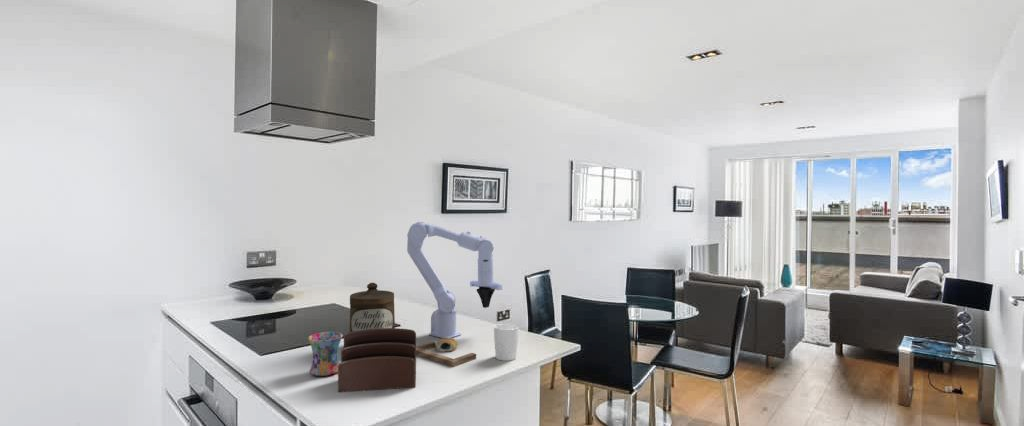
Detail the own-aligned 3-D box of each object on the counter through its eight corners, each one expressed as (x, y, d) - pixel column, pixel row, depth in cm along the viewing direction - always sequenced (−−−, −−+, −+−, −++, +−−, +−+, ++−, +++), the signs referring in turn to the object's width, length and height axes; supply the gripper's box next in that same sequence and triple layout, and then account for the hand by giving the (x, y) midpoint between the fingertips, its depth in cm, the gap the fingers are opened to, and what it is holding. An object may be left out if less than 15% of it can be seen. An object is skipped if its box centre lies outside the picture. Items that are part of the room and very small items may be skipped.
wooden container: (349, 355, 151) (349, 287, 151) (349, 342, 165) (349, 280, 165) (396, 351, 156) (396, 285, 155) (392, 339, 170) (393, 278, 169)
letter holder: (343, 379, 131) (344, 329, 131) (416, 374, 135) (416, 326, 135) (337, 393, 121) (337, 339, 121) (415, 388, 125) (415, 335, 125)
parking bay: (408, 352, 154) (408, 348, 154) (431, 345, 162) (431, 341, 162) (453, 366, 141) (453, 362, 141) (476, 358, 149) (476, 353, 149)
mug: (331, 379, 130) (331, 341, 130) (301, 377, 132) (301, 339, 132) (352, 365, 142) (352, 330, 142) (324, 363, 144) (324, 328, 143)
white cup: (489, 359, 149) (489, 327, 149) (501, 352, 156) (501, 322, 156) (511, 363, 145) (511, 331, 145) (522, 356, 152) (522, 325, 152)
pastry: (440, 343, 165) (440, 333, 165) (459, 344, 165) (459, 333, 165) (435, 352, 156) (435, 340, 156) (455, 352, 156) (455, 341, 156)
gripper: (507, 271, 175) (507, 307, 175) (478, 268, 184) (479, 302, 184) (494, 273, 169) (495, 311, 169) (465, 270, 178) (466, 306, 179)
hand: (486, 307), depth 176 cm, fingers closed
